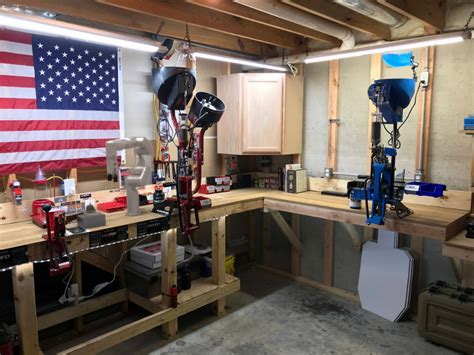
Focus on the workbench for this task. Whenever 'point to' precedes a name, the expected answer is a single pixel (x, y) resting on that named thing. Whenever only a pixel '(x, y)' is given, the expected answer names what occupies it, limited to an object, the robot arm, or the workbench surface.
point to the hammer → (74, 216)
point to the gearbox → (91, 220)
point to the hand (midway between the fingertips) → (112, 181)
